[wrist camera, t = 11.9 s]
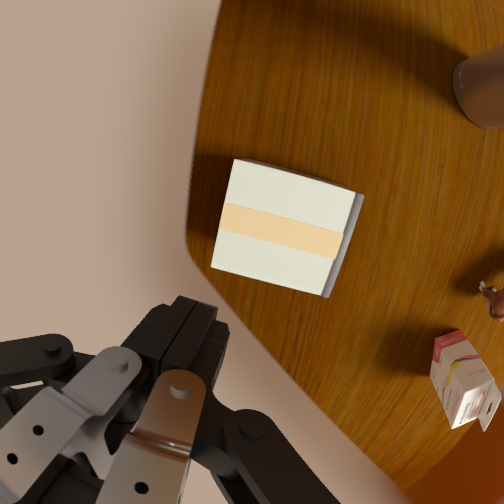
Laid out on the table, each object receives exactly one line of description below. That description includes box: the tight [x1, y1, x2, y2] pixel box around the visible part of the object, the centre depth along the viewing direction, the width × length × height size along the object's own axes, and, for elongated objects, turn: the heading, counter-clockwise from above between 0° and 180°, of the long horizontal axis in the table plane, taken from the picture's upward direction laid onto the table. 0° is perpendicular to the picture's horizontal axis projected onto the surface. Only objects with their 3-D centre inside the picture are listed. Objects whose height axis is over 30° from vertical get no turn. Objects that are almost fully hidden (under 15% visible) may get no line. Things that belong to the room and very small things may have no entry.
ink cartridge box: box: [430, 329, 501, 431], centre depth 28 cm, size 9×5×15 cm, turn 16°
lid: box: [211, 159, 364, 298], centre depth 25 cm, size 11×10×1 cm
